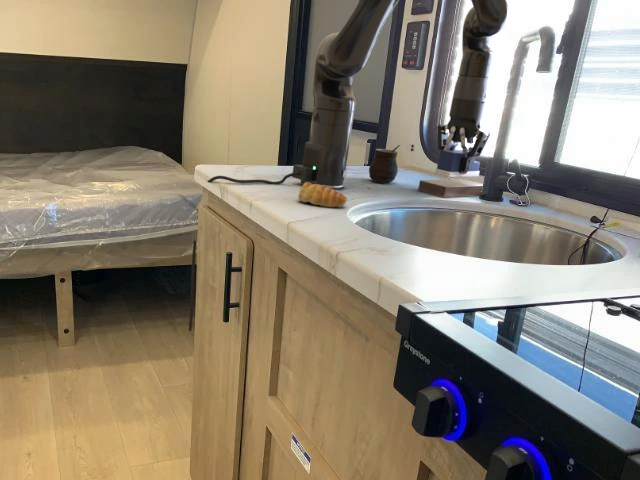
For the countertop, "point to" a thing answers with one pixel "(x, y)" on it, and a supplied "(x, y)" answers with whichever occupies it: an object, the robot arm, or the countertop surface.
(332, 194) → the pastry
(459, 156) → the navy stepped block
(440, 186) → the shelf board
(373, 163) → the mate gourd
